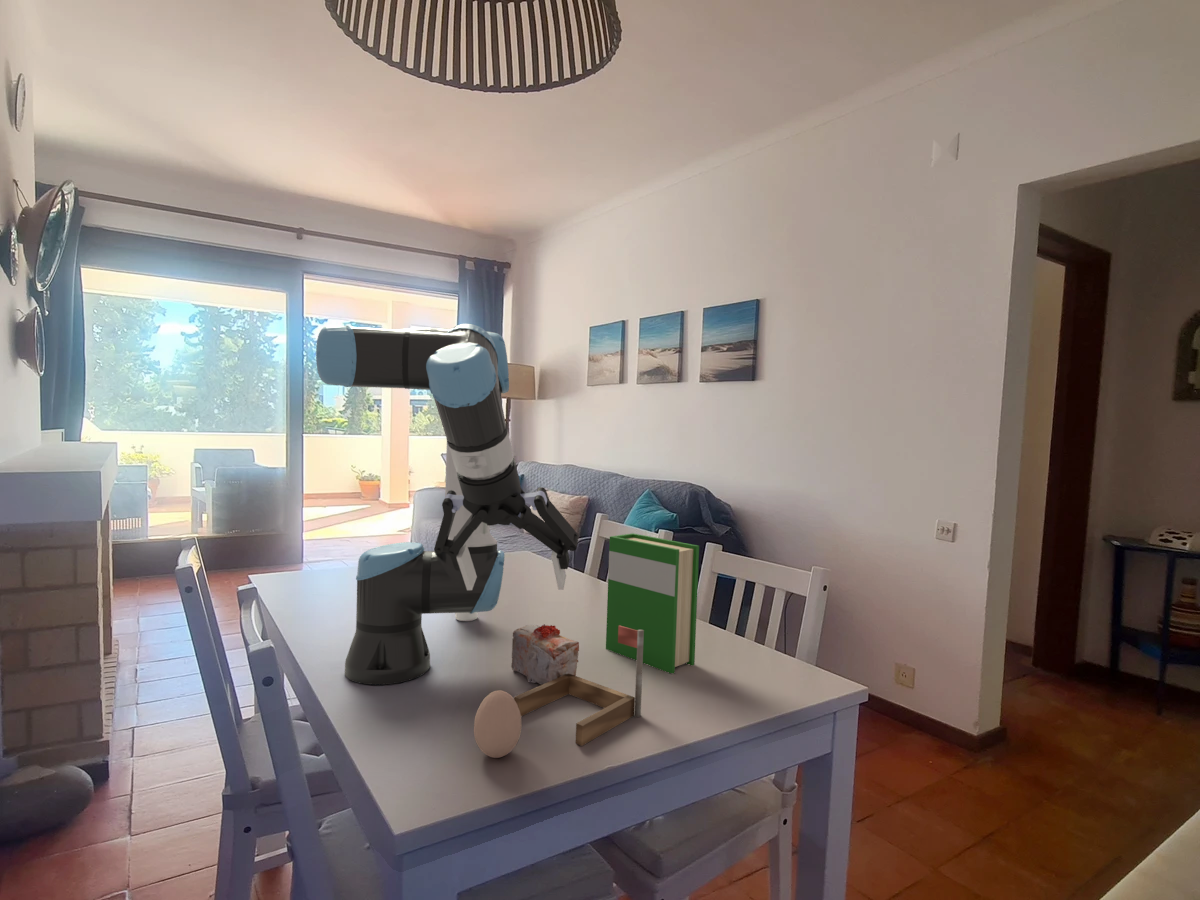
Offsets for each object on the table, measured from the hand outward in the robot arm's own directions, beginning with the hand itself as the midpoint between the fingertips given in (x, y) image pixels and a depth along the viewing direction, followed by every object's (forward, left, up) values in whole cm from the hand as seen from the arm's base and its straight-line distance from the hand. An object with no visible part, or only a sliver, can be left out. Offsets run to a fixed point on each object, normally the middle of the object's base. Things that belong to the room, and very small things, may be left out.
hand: (516, 583), depth 90 cm
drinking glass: (-51, +33, -24) cm, 65 cm away
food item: (-13, +20, -24) cm, 34 cm away
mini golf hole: (+2, +13, -24) cm, 27 cm away
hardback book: (-5, +43, -24) cm, 49 cm away
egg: (+1, -4, -24) cm, 24 cm away
